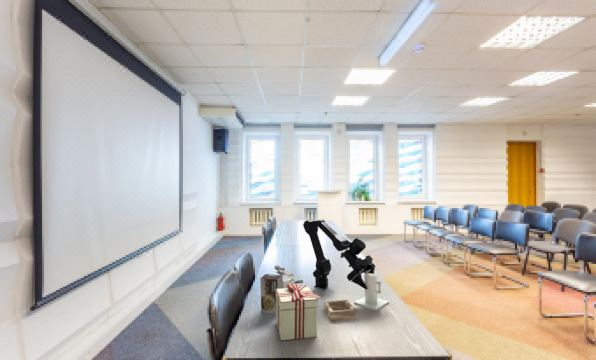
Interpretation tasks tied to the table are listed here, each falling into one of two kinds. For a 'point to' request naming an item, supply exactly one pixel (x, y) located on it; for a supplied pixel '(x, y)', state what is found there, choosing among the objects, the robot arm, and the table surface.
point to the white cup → (286, 281)
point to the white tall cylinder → (372, 288)
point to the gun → (287, 274)
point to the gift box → (296, 312)
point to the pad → (374, 307)
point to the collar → (339, 314)
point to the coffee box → (269, 292)
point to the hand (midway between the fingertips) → (372, 286)
